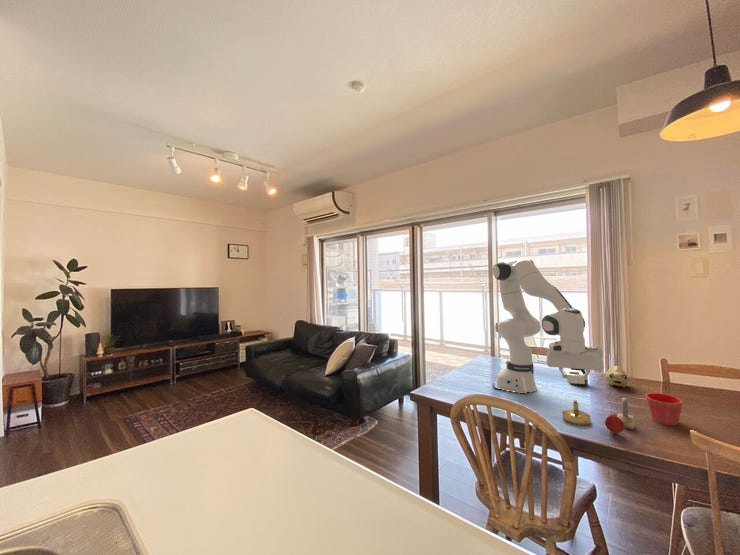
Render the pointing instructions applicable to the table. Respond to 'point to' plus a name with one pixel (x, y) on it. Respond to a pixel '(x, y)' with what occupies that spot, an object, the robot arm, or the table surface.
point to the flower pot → (664, 408)
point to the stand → (626, 415)
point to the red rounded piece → (614, 424)
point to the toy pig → (617, 376)
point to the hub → (576, 416)
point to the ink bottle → (585, 380)
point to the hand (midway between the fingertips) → (574, 378)
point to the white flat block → (575, 376)
